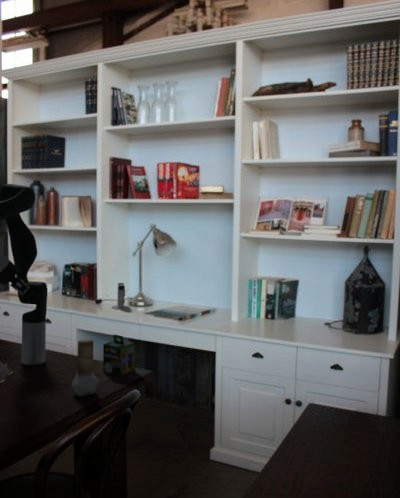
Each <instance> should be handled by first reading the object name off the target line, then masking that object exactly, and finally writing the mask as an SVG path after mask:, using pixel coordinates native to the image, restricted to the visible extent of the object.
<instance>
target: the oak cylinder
mask: <svg viewBox="0 0 400 498" xmlns="http://www.w3.org/2000/svg"><path fill="white" fill-rule="evenodd" d="M76 373H78V374H79V375H90V374H92V373H93V374H94V340H93V339H88V338H87V339H80V340H78V341H77V371H76Z"/></svg>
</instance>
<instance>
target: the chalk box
mask: <svg viewBox="0 0 400 498" xmlns="http://www.w3.org/2000/svg"><path fill="white" fill-rule="evenodd" d="M112 338H113V340H111V341H108V342H106V343H104V344H103V345H102V347H103V349H102V350H103V355H102V358H103V359H102V360H103V361H102V362H103V363H102V366H103V368H102V371H103V373H107V374H111V375H113V376H118V377H122V376H124V375H126V374H129V373H131V372H133V371H135V370H136V367H135V366H136V364H135V363H136V362H135V361H136V360H135V358H136V357H135V356H136V352H135V351H136V350H135V349H136V344H135V343H136V342H133V341H129V340H124V337H123V336H122V335H118V334H113V337H112Z"/></svg>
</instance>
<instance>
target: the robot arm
mask: <svg viewBox="0 0 400 498" xmlns="http://www.w3.org/2000/svg"><path fill="white" fill-rule="evenodd" d="M35 201H36V194H35V191H34V189H33V188H31V187H30V186H28V185H23V184H22V185H20V184H14V183H5V184H3V185H2V186H1V189H0V222H1V221H3V220H5V223H6V227H7V231H8V236H9V237H8V238H9V242H10V243H9V244H10V249H11V254H12V258H13V261H11V260H10V259H9V258H8V257H7V256H6V255H5V254H4V253H2V252H1V251H0V285H1V286H6V285H7V284H8V283H10V286H11V288H12V289H14V290H15V291H16V292H17V297H18V300H19V302H20V303H21V304H24V305H25V304H26V305H35V308H34V309H33V310H29V311H26V312H24V313H22V316H21V364H23V365H25V366H37V365H41V364H44V363H45V362H46V344H47V343H46V342H47V341H46V340H47V339H46V338H47V333H46V332H47V331H46V329H47V328H46V327H47V323H46V322H47V321H46V319H47V310H48V309H47V307H48V306H47V304H48V291H49V290H48V285H47V283H46V282H45V281H31V280H28V273H29V271H30V269H31V267H32V266H33V264H34V263H35V261H36V259H37V256H38V248H37V241H36V236H35V235H34V233H33V232H32V230H31V229H30V228H29V227H28V226H27V224H26V223H25V221H24V220H23V219H22V216H21V213H25V212H27V211H29V210H30V209H32V208H33V206H34V204H35ZM13 262H14V263H13Z"/></svg>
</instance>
